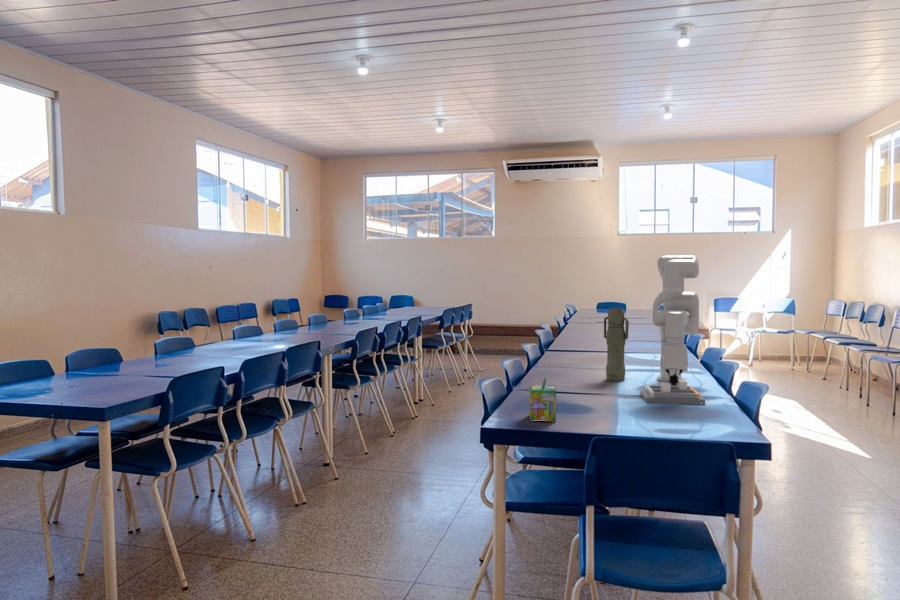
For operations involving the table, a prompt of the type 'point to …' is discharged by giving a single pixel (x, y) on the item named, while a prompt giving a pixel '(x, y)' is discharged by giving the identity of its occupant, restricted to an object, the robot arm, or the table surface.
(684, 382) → the tab
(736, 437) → the table surface
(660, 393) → the switch board
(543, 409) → the chalk box
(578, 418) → the table surface
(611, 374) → the thermos
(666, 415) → the table surface
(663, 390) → the tab
